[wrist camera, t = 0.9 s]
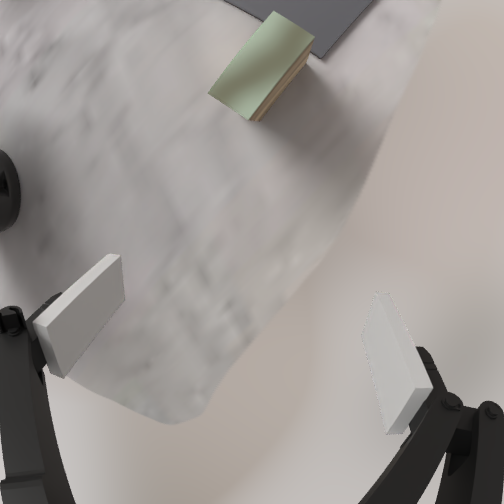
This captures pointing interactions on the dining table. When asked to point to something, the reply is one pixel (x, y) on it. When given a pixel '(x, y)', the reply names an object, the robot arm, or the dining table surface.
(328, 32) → the rubber mat
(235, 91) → the oak slab
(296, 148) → the dining table surface
